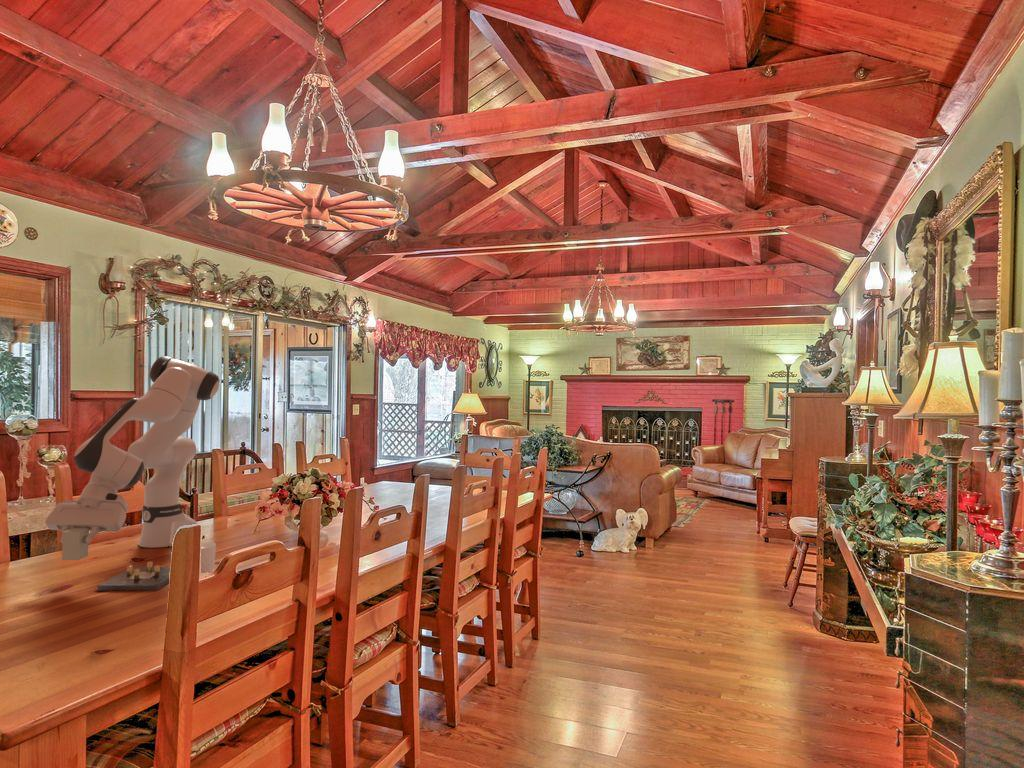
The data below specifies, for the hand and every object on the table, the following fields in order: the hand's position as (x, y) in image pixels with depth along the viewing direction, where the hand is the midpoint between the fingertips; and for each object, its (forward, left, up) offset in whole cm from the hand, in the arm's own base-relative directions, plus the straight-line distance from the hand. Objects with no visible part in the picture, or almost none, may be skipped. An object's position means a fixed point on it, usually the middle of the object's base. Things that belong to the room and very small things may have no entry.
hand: (74, 542), depth 178 cm
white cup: (-24, +22, -14) cm, 35 cm away
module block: (-1, 0, -5) cm, 5 cm away
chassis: (-14, +10, -13) cm, 22 cm away
